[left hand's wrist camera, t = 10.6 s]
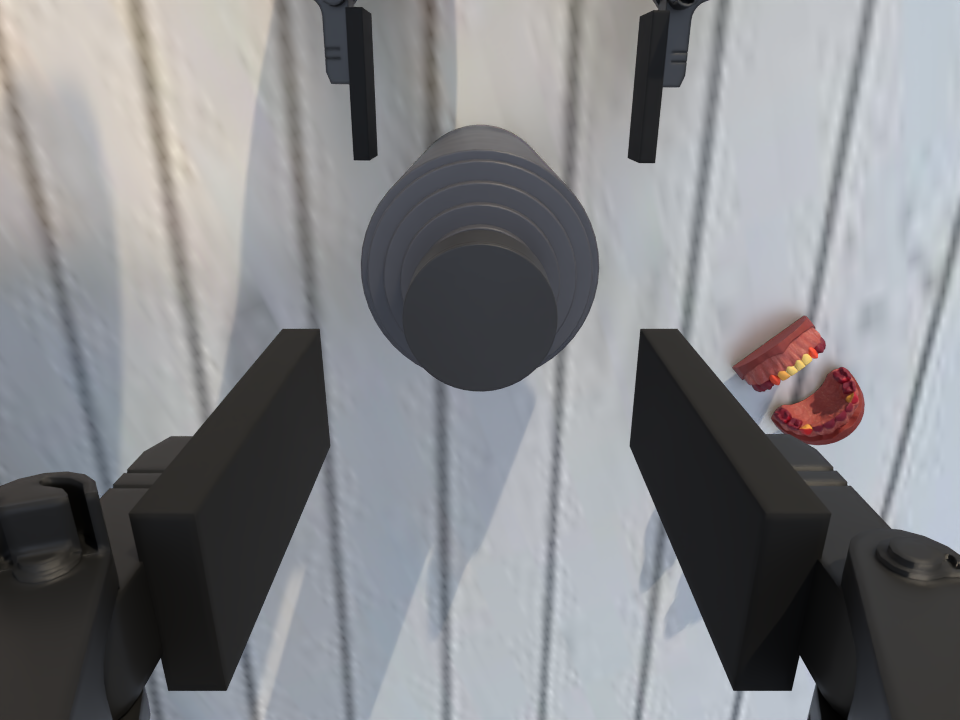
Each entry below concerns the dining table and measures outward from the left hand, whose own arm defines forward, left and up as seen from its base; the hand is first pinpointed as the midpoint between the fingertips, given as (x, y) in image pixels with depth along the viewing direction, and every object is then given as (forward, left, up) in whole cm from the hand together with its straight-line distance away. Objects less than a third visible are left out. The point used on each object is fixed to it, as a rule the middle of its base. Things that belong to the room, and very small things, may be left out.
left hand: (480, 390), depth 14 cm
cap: (0, 0, -5) cm, 5 cm away
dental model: (+22, -6, -28) cm, 36 cm away
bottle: (0, 0, -28) cm, 28 cm away
